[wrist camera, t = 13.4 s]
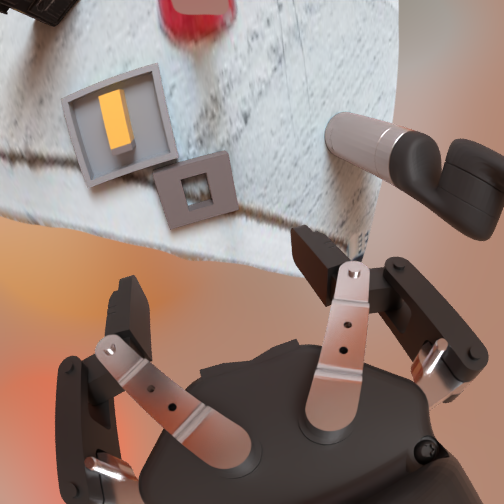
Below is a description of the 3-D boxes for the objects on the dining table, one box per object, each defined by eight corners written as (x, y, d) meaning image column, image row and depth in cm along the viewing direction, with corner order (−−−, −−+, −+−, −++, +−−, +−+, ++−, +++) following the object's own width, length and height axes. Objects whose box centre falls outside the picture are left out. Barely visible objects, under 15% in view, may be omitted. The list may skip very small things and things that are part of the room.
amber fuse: (119, 89, 28) (132, 149, 33) (123, 89, 32) (135, 144, 37) (98, 96, 28) (112, 156, 33) (105, 96, 31) (117, 149, 36)
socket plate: (225, 150, 43) (228, 153, 41) (235, 204, 48) (238, 209, 46) (153, 170, 41) (152, 174, 39) (169, 222, 47) (170, 229, 45)
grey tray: (158, 65, 32) (157, 62, 29) (177, 153, 41) (178, 157, 38) (67, 98, 29) (60, 99, 27) (92, 182, 38) (87, 188, 36)
